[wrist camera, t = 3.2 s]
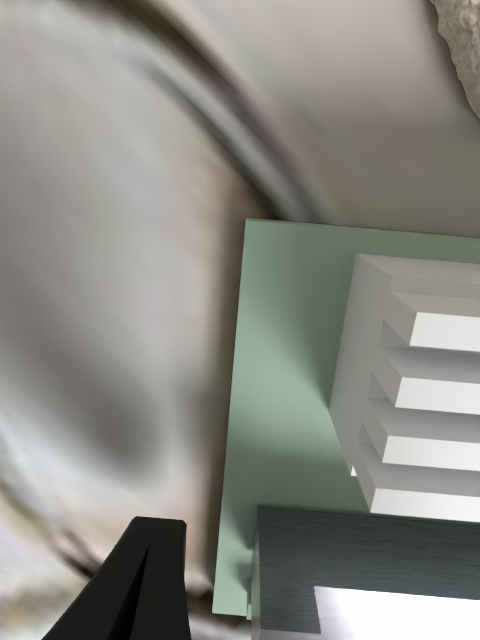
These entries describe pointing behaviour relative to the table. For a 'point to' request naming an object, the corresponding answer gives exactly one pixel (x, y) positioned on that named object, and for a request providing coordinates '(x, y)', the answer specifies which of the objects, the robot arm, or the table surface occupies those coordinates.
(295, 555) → the bar
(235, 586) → the board
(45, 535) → the table surface
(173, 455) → the table surface
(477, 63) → the washcloth
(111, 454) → the table surface
